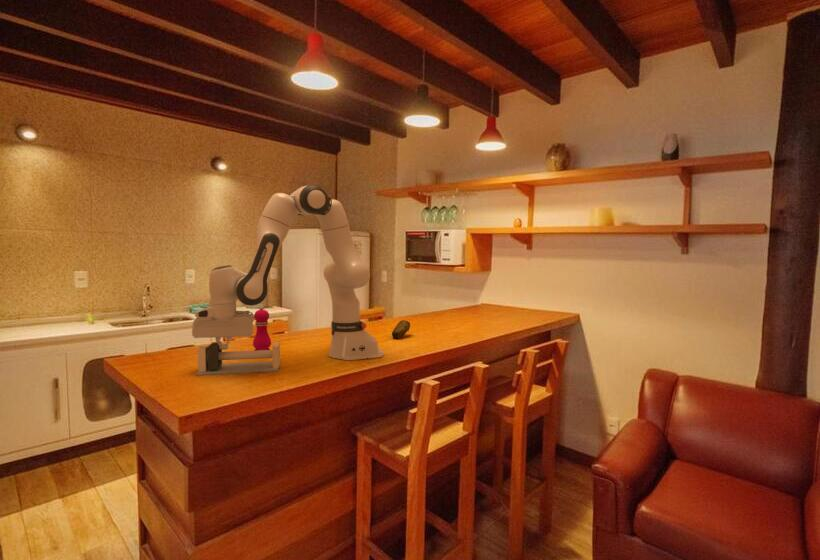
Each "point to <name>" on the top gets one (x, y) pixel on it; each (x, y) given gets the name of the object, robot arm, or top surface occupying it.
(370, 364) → the top surface
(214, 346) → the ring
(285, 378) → the top surface
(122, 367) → the top surface
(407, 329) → the potato
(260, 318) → the pepper mill
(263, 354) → the pipe rig
